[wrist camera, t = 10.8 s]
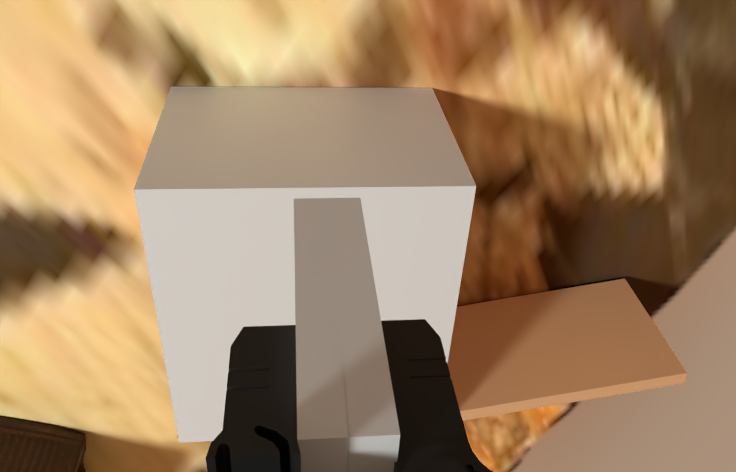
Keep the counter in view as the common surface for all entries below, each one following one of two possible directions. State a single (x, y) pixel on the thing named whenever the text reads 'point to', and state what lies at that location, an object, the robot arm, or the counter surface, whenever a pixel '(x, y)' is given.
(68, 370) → the counter surface
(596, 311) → the side door
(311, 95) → the block
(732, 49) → the counter surface
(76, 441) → the dark manual coffee grinder
